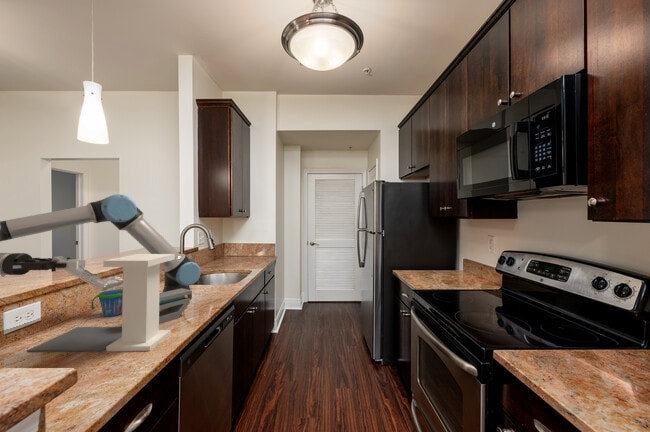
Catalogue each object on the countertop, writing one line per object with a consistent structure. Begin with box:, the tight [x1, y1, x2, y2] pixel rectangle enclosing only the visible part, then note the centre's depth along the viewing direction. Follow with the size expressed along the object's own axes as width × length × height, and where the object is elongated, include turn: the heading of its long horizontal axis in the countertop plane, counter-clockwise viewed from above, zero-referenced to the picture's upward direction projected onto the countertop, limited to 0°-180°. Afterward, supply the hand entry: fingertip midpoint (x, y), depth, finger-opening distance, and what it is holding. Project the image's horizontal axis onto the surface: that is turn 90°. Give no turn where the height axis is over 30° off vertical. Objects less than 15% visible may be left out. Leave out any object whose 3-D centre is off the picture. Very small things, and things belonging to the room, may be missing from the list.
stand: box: [102, 253, 175, 352], centre depth 101 cm, size 14×18×30 cm
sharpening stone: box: [159, 288, 193, 325], centre depth 122 cm, size 25×8×11 cm, turn 150°
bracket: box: [51, 255, 123, 292], centre depth 104 cm, size 20×10×2 cm
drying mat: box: [26, 326, 122, 353], centre depth 103 cm, size 24×20×1 cm
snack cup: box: [90, 288, 123, 318], centre depth 130 cm, size 16×11×10 cm
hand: (81, 264), depth 100 cm, fingers closed on bracket, 3 cm apart
